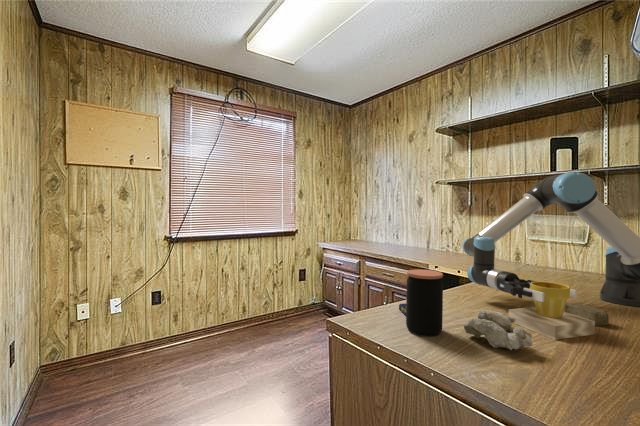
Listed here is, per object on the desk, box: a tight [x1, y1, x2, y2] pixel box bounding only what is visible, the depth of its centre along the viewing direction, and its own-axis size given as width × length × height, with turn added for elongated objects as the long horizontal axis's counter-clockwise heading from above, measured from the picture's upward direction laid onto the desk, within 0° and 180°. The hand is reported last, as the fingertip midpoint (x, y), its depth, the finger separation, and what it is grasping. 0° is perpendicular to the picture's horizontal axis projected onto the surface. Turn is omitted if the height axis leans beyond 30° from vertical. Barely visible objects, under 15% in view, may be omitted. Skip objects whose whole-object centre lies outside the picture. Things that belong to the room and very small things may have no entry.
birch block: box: [508, 306, 596, 341], centre depth 103 cm, size 16×16×4 cm
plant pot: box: [529, 280, 571, 318], centre depth 103 cm, size 10×10×10 cm
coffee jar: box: [405, 268, 444, 337], centre depth 99 cm, size 11×11×18 cm
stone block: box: [564, 302, 610, 327], centre depth 110 cm, size 6×12×5 cm, turn 13°
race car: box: [398, 303, 406, 317], centre depth 116 cm, size 15×7×4 cm, turn 9°
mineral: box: [463, 308, 533, 351], centre depth 89 cm, size 12×17×10 cm
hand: (560, 296), depth 100 cm, fingers open, 13 cm apart
